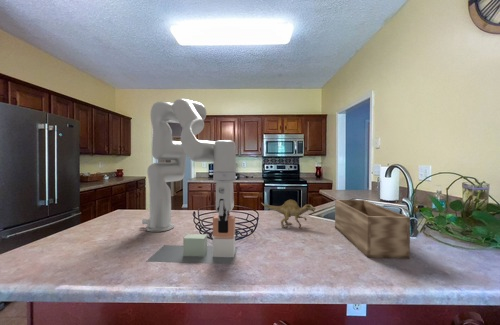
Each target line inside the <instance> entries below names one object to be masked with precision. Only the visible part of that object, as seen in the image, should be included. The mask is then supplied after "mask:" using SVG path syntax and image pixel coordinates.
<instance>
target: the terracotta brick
mask: <svg viewBox="0 0 500 325" xmlns="http://www.w3.org/2000/svg"><path fill="white" fill-rule="evenodd" d="M218 219H219V214H215V215H214V216H213V218H212V237H214V236H230V237H234V235H235V234H236V215H235V214H233V215H227V221H228V233H219V232H218Z"/></svg>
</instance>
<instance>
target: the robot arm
mask: <svg viewBox="0 0 500 325" xmlns="http://www.w3.org/2000/svg"><path fill="white" fill-rule="evenodd" d="M206 117H207V109H206V107H205V105H204V104H202V103H201V102H198V101H196V100H195V101H193V100H190V99H186V98H178V99H176V100H174V101H173V102H167V101H156V102H154V103H153V105H152V106H151V109H150V122H151V126H152V141H151V142H152V144H151V154H152V158H154V159H155V160H161V161H163V160H164V161H172V162H153V163H151V164H150V165H149V166H148V167H147V171H146V172H147V178H148V186H149V218H142V221H141V224H142V225H147V226H145V230H146V231H147V232H152V233H160V232H166V231H170V230H172V229H173V228H174V227H175V223H174V222H172V191H171V188H170V186H169V185H168V184H167V183H169V182H171V183H172V182H179V181H182V180H183V179H184V177H185V173H186V164H187V157H188V158H189V160H191V161H192V162H195V163H197V162H198V163H200V162H201V163H202V162H203V163H205V162H207V163H213V167H212V168H213V171H212V172H213V176H212V177H213V178H212V180H213V182H215V212H217V213H218V215H219V219H218V232H219V233H228V221H227V215H230V214H231V212H232V210H233V209H234V206H235V198H234V195H235V194H234V183H235V182H236V177H237V176H236V174H237V173H236V165H237V164H236V160H237V159H236V158H237V156H236V155H237V154H236V153H237V152H236V151H237V147H236V143H235V141H233V140H228V139H227V140H226V139H224V140H220V139H219V140H216V141H213V140H202V139H197V137H196V136H197V135H198V134H200V133H201V132H202V131H203V130H204V128H205V119H206ZM169 123H174V124H179V125H180V127H181V128H182V130H181V133H180V141H177V140H173V130H172V128H171V126H170V124H169Z"/></svg>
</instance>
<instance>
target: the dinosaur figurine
mask: <svg viewBox="0 0 500 325" xmlns="http://www.w3.org/2000/svg"><path fill="white" fill-rule="evenodd" d="M260 204H262V206H263V207H265V208H267V209H268V210H269V209H270V210H272V211H275V212H277V213H279V214H281V215H283V216H284V218H282V219H281V220H280V226H281V227H282V228H285V229H287V228H289V226H288V225H293V223H292V222H288V220H289V218H291V217H295V218H294V219H295V221H296V223H298V225H299V226H298V228H300V229H301V227H302V224H301V222H300V220H299V219H304V220H305V221H306V222H307V218H306V217H305V216H301V215H303V214H305V213H306V212H308V211H311V212H313V213H315V212H316V207H314V206H313V205H312V204H305V205H304V206H302V207H300V206H299V205H298V202H297V201H296V200H294V199H287V200H286V201H284V203H283V204H282V205H270V204H265V203H263V202H260Z"/></svg>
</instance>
